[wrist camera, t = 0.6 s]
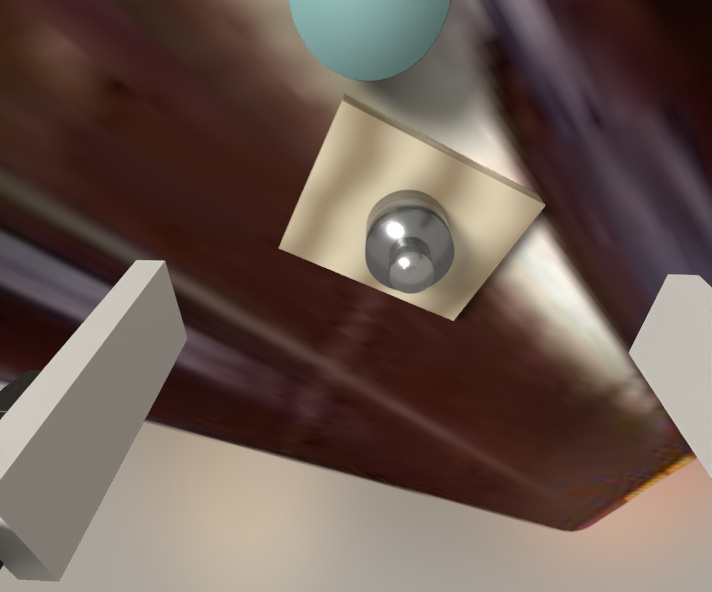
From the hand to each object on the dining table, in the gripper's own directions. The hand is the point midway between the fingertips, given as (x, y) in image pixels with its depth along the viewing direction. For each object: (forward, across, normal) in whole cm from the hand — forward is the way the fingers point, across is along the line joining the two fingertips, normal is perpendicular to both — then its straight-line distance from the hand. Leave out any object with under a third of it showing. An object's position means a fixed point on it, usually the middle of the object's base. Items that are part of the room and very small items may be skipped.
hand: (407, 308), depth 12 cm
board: (+22, +2, -8) cm, 24 cm away
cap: (+22, -2, +7) cm, 23 cm away
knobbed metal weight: (+20, +2, -8) cm, 22 cm away
